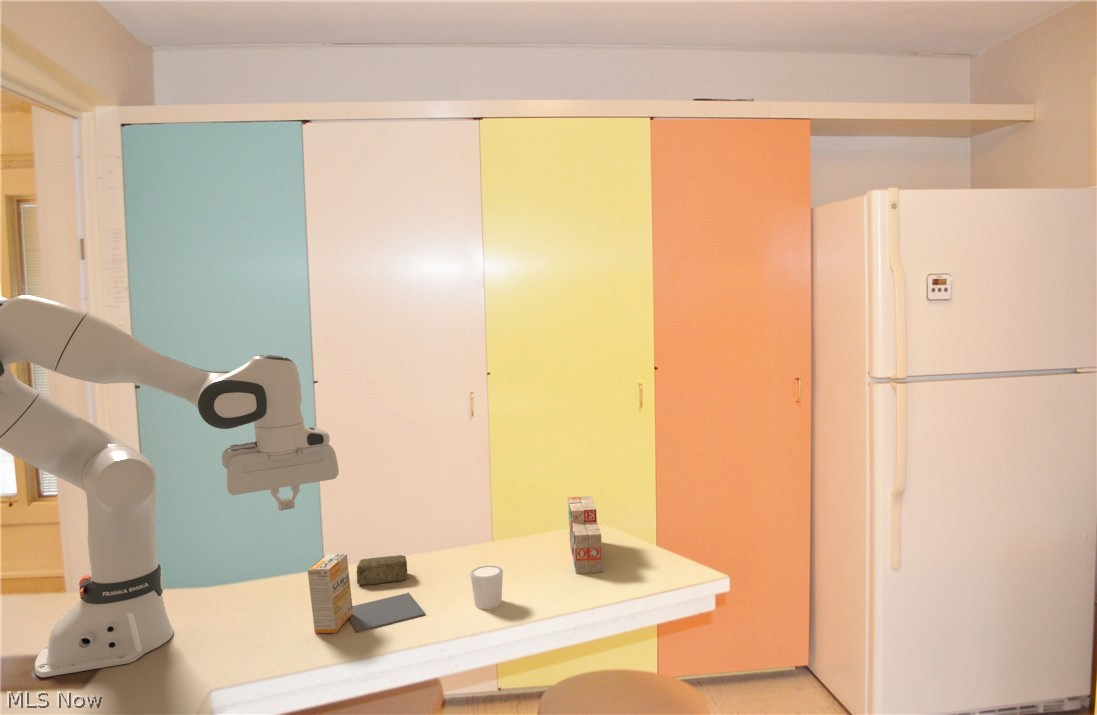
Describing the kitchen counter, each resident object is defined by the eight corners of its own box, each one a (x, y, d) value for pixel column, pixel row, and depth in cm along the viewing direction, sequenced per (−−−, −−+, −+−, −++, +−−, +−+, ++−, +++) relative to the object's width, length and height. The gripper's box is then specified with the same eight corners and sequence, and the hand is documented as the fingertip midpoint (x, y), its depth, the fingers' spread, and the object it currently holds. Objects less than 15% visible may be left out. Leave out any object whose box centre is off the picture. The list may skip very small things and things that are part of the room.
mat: (356, 632, 137) (356, 630, 137) (344, 609, 147) (344, 608, 147) (425, 614, 143) (425, 613, 143) (408, 593, 154) (408, 592, 154)
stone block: (407, 582, 161) (406, 561, 160) (356, 588, 159) (354, 567, 158) (408, 572, 166) (406, 552, 166) (358, 578, 164) (356, 558, 164)
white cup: (467, 601, 149) (465, 569, 148) (496, 593, 152) (495, 562, 151) (479, 613, 143) (477, 580, 142) (509, 605, 146) (508, 573, 145)
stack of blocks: (602, 573, 161) (600, 521, 160) (575, 574, 161) (573, 522, 160) (593, 540, 182) (591, 494, 181) (569, 542, 182) (567, 496, 181)
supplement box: (336, 633, 136) (329, 569, 135) (313, 633, 137) (306, 569, 136) (354, 613, 144) (347, 552, 143) (333, 613, 145) (325, 553, 144)
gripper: (221, 449, 126) (228, 523, 128) (337, 434, 136) (342, 503, 137) (220, 443, 132) (226, 514, 133) (331, 429, 141) (336, 495, 143)
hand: (286, 508), depth 135 cm, fingers closed
